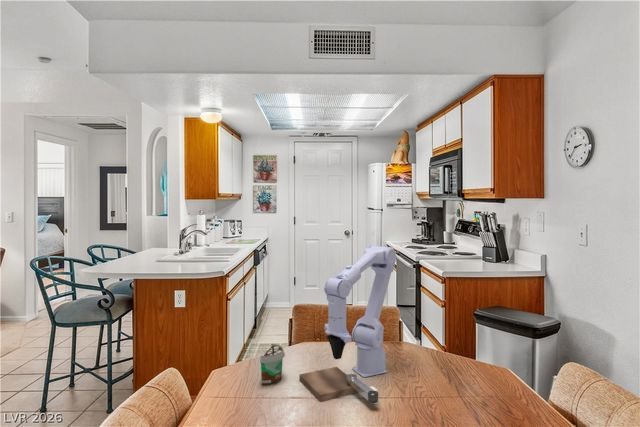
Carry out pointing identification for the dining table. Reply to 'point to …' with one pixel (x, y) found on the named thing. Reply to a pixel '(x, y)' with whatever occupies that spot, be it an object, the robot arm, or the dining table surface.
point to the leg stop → (374, 390)
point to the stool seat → (327, 383)
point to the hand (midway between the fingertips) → (337, 358)
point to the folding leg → (362, 388)
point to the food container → (272, 365)
